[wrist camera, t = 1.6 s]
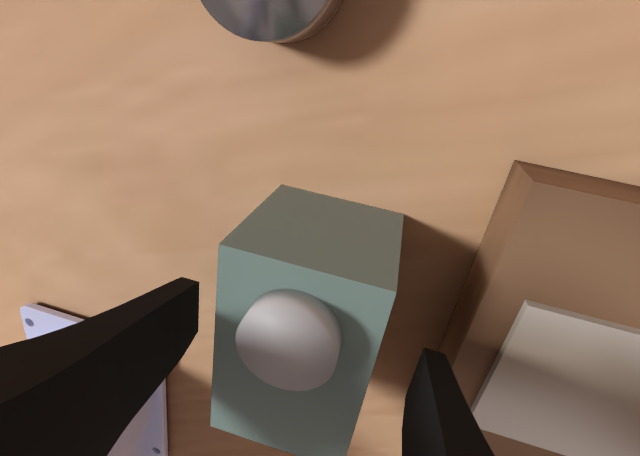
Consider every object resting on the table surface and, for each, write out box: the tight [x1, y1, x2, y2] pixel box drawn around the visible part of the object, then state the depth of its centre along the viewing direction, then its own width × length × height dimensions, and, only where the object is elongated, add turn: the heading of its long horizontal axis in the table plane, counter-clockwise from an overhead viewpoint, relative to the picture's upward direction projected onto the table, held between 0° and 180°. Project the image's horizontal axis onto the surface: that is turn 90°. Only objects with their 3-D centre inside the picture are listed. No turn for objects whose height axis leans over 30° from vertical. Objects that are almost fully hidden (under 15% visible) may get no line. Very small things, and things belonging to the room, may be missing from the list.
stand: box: [438, 160, 640, 456], centre depth 12 cm, size 12×10×2 cm
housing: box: [210, 185, 404, 456], centre depth 13 cm, size 7×4×6 cm, turn 171°
